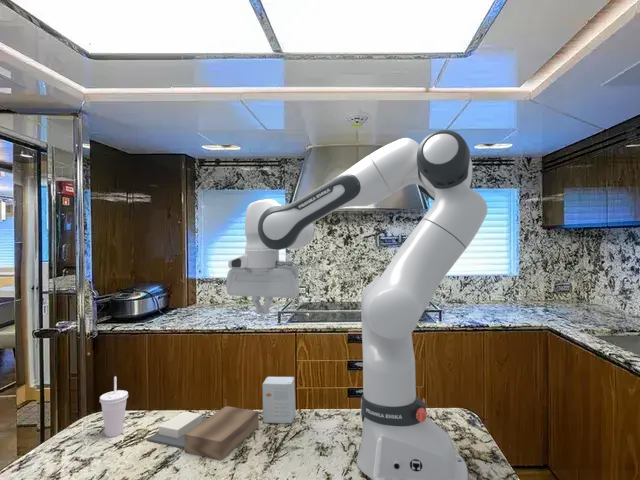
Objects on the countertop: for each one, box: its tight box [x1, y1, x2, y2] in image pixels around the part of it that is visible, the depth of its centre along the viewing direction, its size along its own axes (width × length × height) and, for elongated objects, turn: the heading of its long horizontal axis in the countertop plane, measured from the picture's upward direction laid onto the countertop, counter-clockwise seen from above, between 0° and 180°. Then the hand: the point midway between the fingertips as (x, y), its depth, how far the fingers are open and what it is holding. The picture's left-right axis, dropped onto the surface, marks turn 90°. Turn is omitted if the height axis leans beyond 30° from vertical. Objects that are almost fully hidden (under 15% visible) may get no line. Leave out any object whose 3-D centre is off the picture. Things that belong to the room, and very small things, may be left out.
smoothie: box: [98, 376, 129, 438], centre depth 94 cm, size 6×6×14 cm
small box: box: [262, 376, 296, 424], centre depth 100 cm, size 8×6×10 cm
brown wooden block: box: [184, 405, 260, 461], centre depth 90 cm, size 10×16×4 cm, turn 159°
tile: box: [158, 410, 203, 438], centre depth 95 cm, size 6×9×2 cm, turn 159°
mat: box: [147, 416, 209, 450], centre depth 94 cm, size 12×14×1 cm
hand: (262, 313), depth 97 cm, fingers closed
